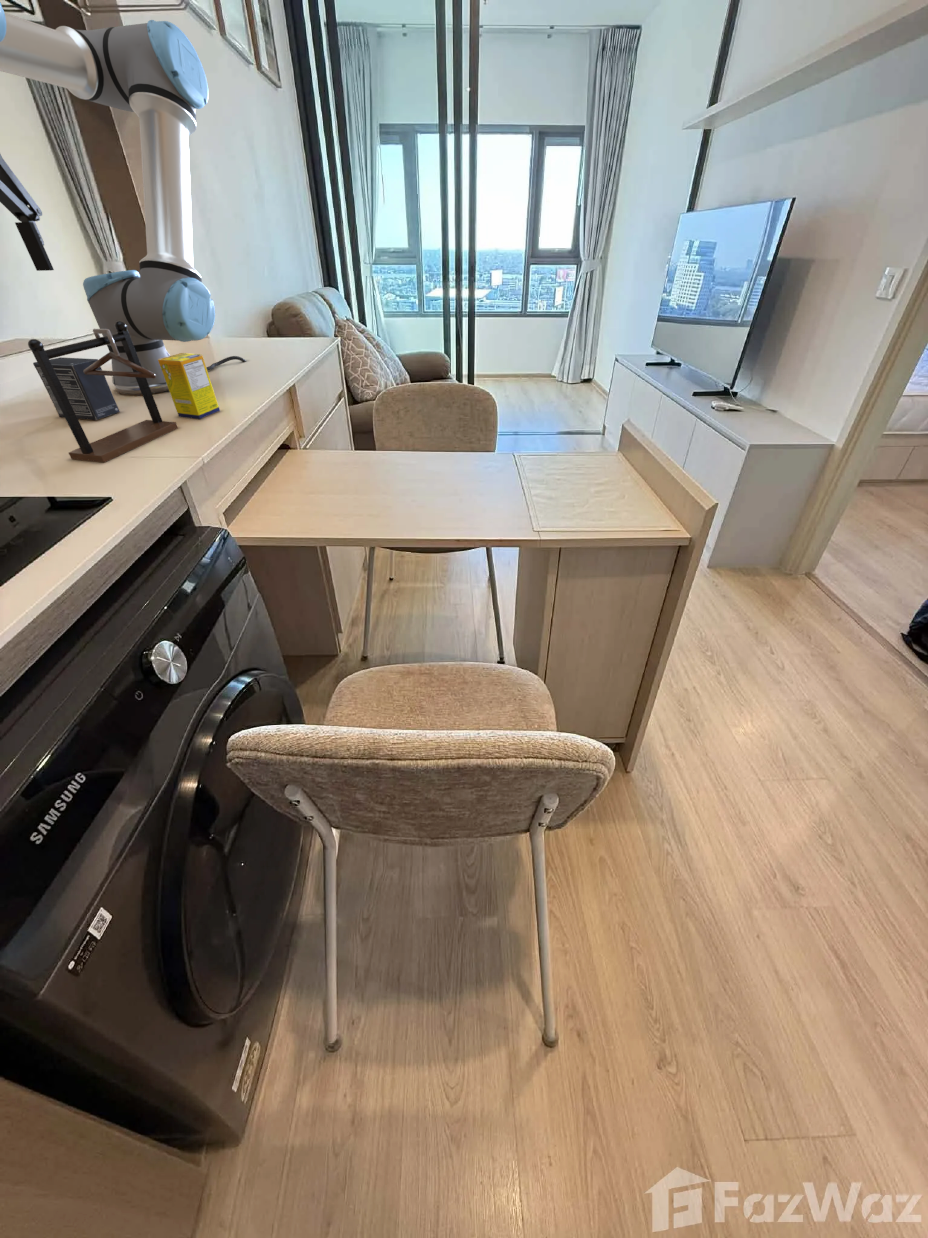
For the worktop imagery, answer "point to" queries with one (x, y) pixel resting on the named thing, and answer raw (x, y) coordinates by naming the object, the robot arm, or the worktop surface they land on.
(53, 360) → the small box
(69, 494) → the worktop surface
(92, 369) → the hanger
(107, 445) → the clothes rail
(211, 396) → the supplement box
